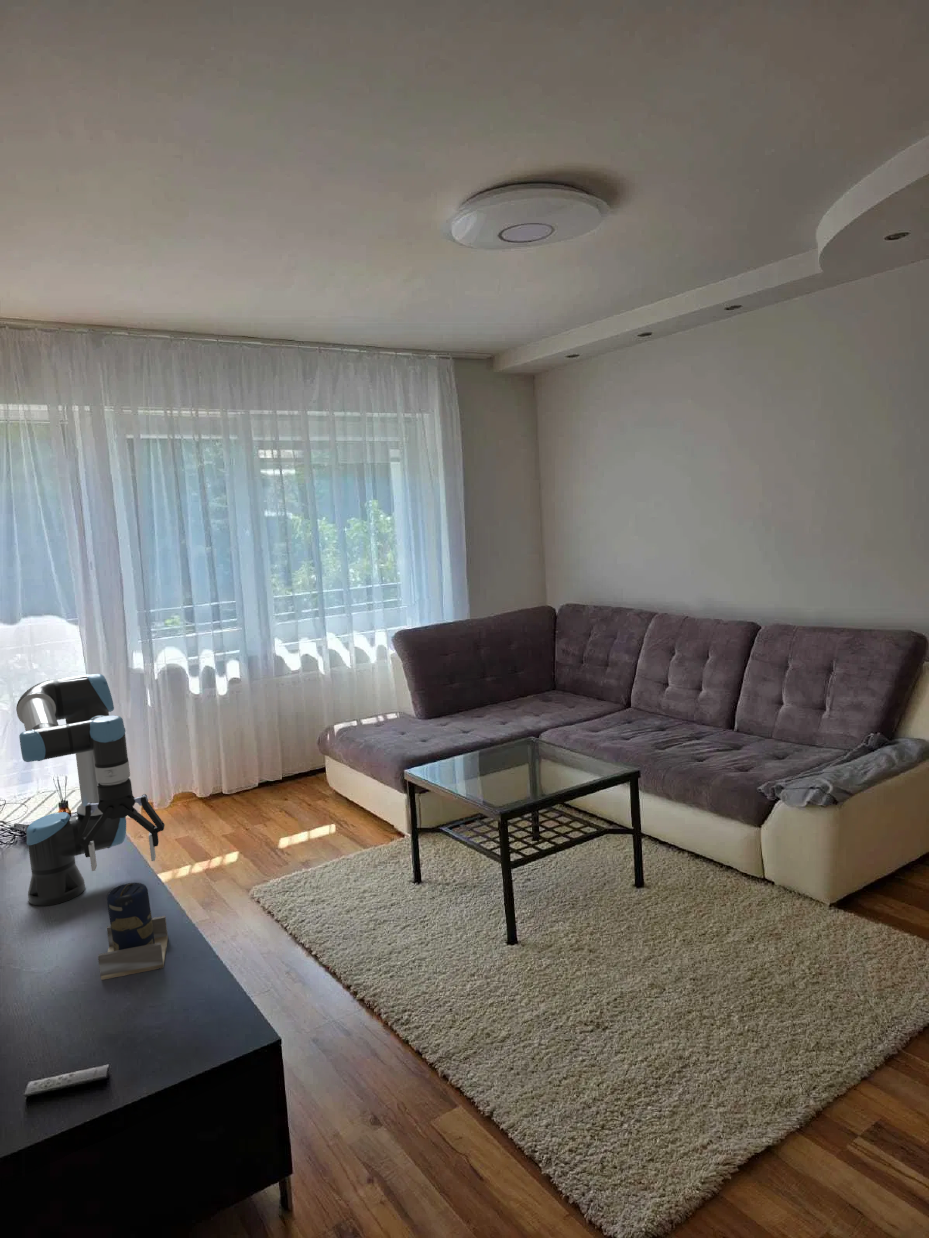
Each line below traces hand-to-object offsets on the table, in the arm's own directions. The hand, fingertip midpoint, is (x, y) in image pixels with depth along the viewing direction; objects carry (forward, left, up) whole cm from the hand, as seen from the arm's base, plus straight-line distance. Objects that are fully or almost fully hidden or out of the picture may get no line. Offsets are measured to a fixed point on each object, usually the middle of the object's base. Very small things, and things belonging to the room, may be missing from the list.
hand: (124, 863), depth 202 cm
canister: (0, 0, -24) cm, 24 cm away
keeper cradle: (0, 0, -25) cm, 25 cm away
